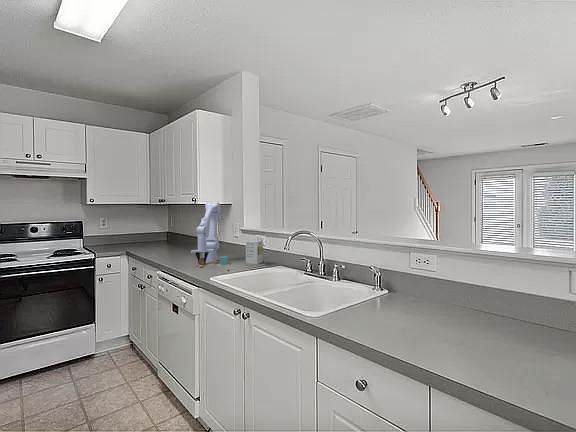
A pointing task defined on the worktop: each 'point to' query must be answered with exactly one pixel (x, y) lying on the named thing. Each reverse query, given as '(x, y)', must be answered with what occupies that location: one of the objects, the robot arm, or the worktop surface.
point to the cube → (223, 260)
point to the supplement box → (254, 252)
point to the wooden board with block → (201, 263)
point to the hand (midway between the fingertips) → (202, 263)
